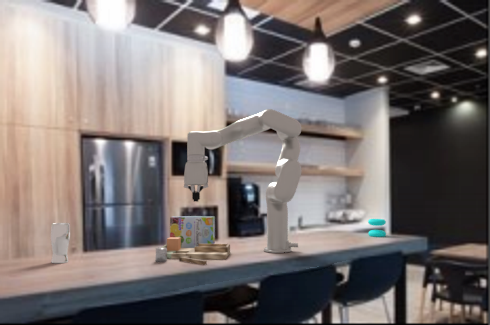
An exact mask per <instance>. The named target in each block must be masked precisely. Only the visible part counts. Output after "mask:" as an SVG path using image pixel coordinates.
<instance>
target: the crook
mask: <svg viewBox="0 0 490 325" xmlns="http://www.w3.org/2000/svg"><path fill="white" fill-rule="evenodd" d="M178 260H180V261H179V262H184V261H187V262H186V263H190V262H191V263H190V264H197V265H201V264H203V265H202V266H205V264H206V265H207V260H206V259H193V258H191V256H183V257H179V259H178Z"/></svg>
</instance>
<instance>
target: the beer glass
mask: <svg viewBox="0 0 490 325" xmlns="http://www.w3.org/2000/svg"><path fill="white" fill-rule="evenodd" d="M70 239H71V225H70V223H69V222H55V223H54V222H53V223H51V229H50V244H51V249H52V250H51V251H52V257H51V264H55V265H56V264H64V263H68V262H69V257H68V250H69V244H70Z"/></svg>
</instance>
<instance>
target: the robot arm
mask: <svg viewBox="0 0 490 325" xmlns="http://www.w3.org/2000/svg"><path fill="white" fill-rule="evenodd" d="M270 129H272V130H274V131H276V134H277V137H278V139H280V141H281V145H282V146H281V151H280V155H279V157H278V160H277V162H276V165H275V170H274V174H275V176H276V178H277V180H276V181H273V182H270V183H269V184H268V186H267V187H266V189H265V200H266V247H263V252H266V253H273V254H280V253H282V254H284V252H285V253H290V252H292V248H299V243H298V242H290V241H289V233H288V232H289V231H288V230H289V229H288V228H289V223H288V222H289V221H288V219H289V217H288V216H289V215H288V213H289V212H288V203H289V202H291V201H292V199H293V198H294V196H295V194H296V192H297V189H298V185H299V183H300V180H301V177H302V165H301V163H300V162H299V157H300V153H301V143H300V138H298V137H299V136H300V134H301V132H302V124H301V123H300V121H299V120H297V119H296V118H293V117H291V116H289V115H287V114H284V113H282V112H279V111H277V110H275V109H272V108H267V109H265V110H263V111H261V112H259V113H256V114H253V115H250V116H248V117H245V118H242V119H239V120H237V121H235V122H232V123H231V124H229V125H227V126H226V127H223V128H221V129H217V130H210V131H195V130H194V131H189V132H188V133H187V137H186V138H187V142H186V143H187V144H186V145H187V149H186V150H187V152H186V153H187V162H185V166H184V174H183V176H184V177H183V183H184V184H183V188H184V189H188V190H189V191H191V193H192V194H191V195H192V199H191V200H192V201H193V202H199V200H200V199H201V198H200V197H201V196H200V193H201V192H202V190H203V189H207V188H209V174H208V173H209V172H208V165H207V162H206V161H207V160H209V157H208V156H206V155H205V151H206V150H205V149H208V150H216V149H218V148H220V147H222V146H225V145H228V144H231V143H234V142H237V141H241V140H243V139H246V138H249V137H251V136H254V135H257V134H260V133H263V132H265V131H268V130H270ZM195 186H197V187H196V188H195Z"/></svg>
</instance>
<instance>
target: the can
mask: <svg viewBox="0 0 490 325" xmlns="http://www.w3.org/2000/svg"><path fill="white" fill-rule="evenodd" d="M167 262H168V259H167V248H160V247H156V248H155V263H167Z"/></svg>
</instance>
